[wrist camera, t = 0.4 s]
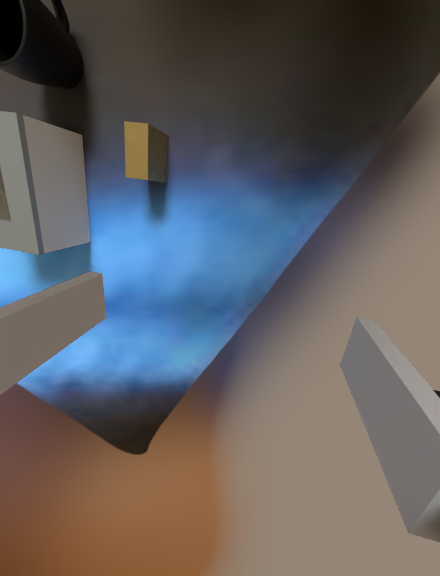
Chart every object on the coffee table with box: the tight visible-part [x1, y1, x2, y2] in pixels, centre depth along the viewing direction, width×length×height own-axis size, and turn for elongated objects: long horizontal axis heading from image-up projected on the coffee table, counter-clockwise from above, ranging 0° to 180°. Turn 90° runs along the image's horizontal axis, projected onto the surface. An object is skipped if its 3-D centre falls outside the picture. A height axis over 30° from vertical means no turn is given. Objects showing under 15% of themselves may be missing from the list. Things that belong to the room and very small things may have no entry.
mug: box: [0, 0, 83, 88], centre depth 28 cm, size 8×12×10 cm
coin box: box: [0, 111, 91, 255], centre depth 35 cm, size 16×12×10 cm
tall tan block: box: [124, 121, 169, 183], centre depth 32 cm, size 6×3×6 cm, turn 173°
